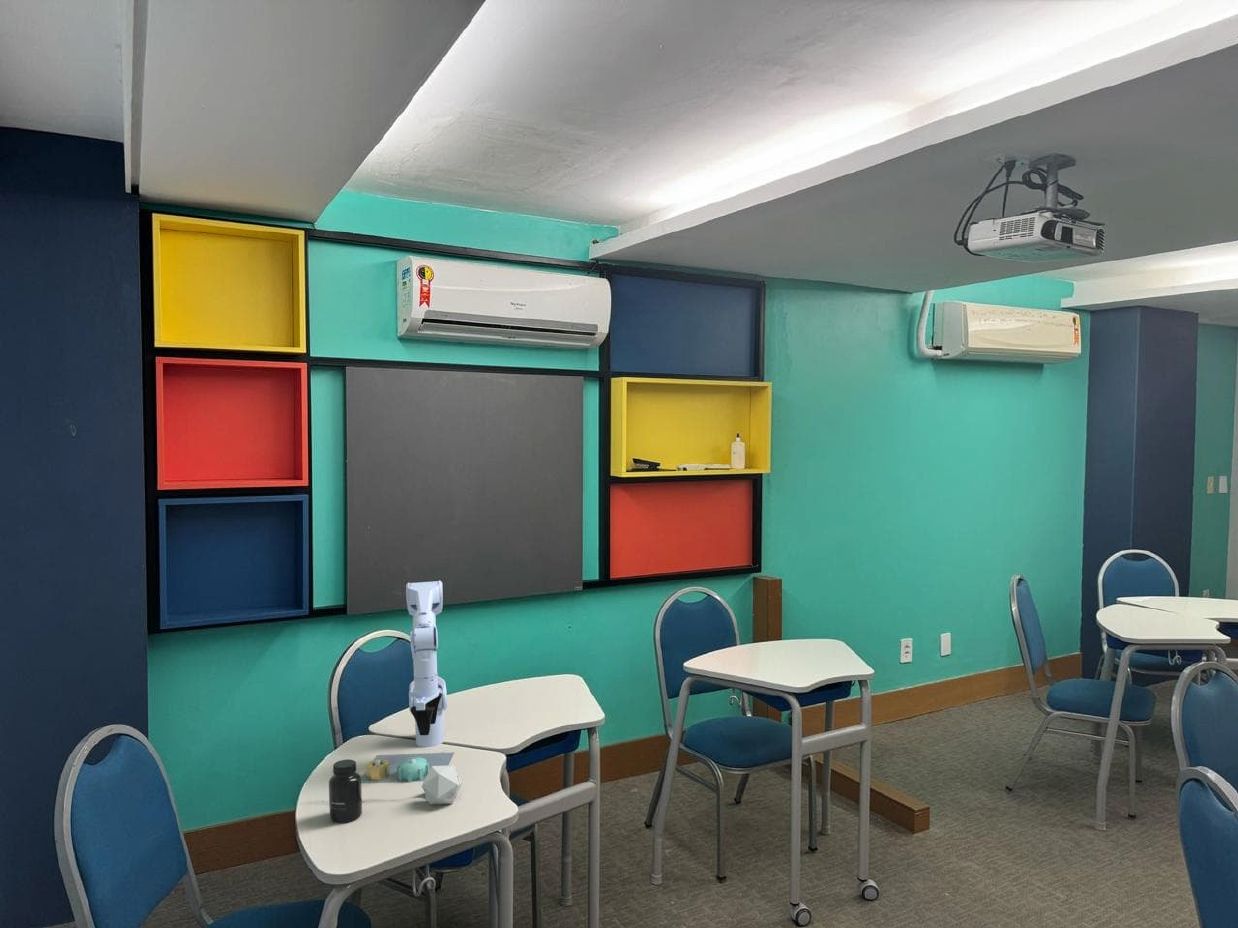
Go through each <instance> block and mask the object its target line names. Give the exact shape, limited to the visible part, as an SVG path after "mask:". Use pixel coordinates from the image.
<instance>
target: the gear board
mask: <svg viewBox="0 0 1238 928" xmlns="http://www.w3.org/2000/svg"><path fill="white" fill-rule="evenodd" d="M454 754H455V752H453V751H452V752H432V753H431V752H430V753H429V752H428V753H425V752H423V753H401V754H400V753H399V754H395V753H394V754H377V755H376V756H375V757H374V758H373V760H376V761H375V766H379V765H380V760H378V759H385V760H387V761H389V771H390V775H389V776H388V778H386V779H383V780H380V781H370V780H368V779H367V776H366V771H365V772H364V773H363V775H362V776H361V784H378V783H379V784H381V783H382V784H383V783H386V784H387V783H407V782H408V783H412V782H424V780H425V778H426V776H427V774H428V772H429V770H430V768H431V766H449V765H450V763H451V761H452V758H453V756H454Z"/></svg>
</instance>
